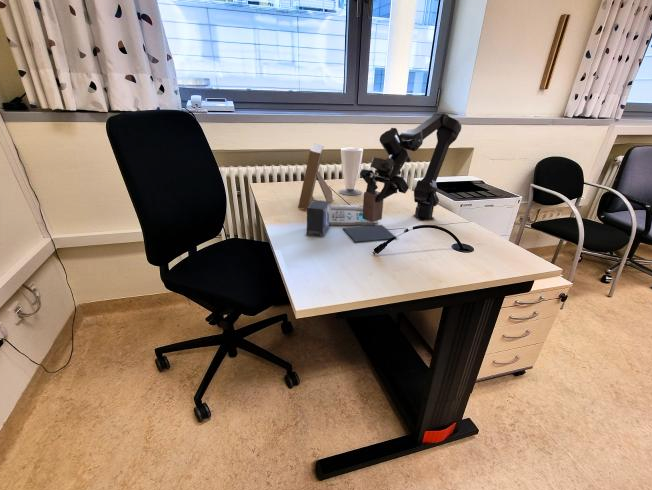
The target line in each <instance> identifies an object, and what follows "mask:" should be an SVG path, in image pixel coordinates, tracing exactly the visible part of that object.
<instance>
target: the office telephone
mask: <svg viewBox="0 0 652 490" xmlns="http://www.w3.org/2000/svg"><path fill="white" fill-rule="evenodd" d="M362 216H363V205H355V204H354V205H350V204H349V205H348V204H347V205H346V204H331V205H329V226H332V225H334V226H356V225H364V226H375V225H378V221H375V222H370V221H368V220H365V219H362Z"/></svg>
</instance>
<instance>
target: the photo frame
mask: <svg viewBox="0 0 652 490" xmlns="http://www.w3.org/2000/svg"><path fill="white" fill-rule="evenodd" d="M323 151H324V145H321V144H317V143H313V145H312V147H311V148H310V150H309V154H308V159H307V163H306V167H305V172H304V178H303V182H302V186H301V192H300V196H299V201H298V202H299V203H298V206H297V208H298V209H302V210H304V211H305V210H306V211H307V207H308V206H309V205H310V204H311V203H312V200H313V195H314V190H315V187H316V182H317V181H318V184H319V186H320V189H321V192H322V194H323V196H324V199H325V201H326V202H329V203H330V202H332V201H333V200H334V197H333V190H332V189H331V188H330V186H329V185H328V184H327V182H326V181H325V179H324V178H323V176H322V175H321V173H319V169H320V164H321V161H322V155H323Z"/></svg>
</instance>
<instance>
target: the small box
mask: <svg viewBox="0 0 652 490" xmlns="http://www.w3.org/2000/svg"><path fill="white" fill-rule="evenodd" d="M329 207H330V201H329V202H327V201H326V200H325V201H324V200H316V199H313V201H311V202H310V205H309V206H308V207H307V210H306V236H313V237H324V235H325V234H326V232H327V231H328V229H329V226H330V225H329Z"/></svg>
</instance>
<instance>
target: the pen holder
mask: <svg viewBox="0 0 652 490" xmlns="http://www.w3.org/2000/svg"><path fill="white" fill-rule="evenodd" d="M380 192H381V191H377V190H375V191H374V190H373V191H368V192H366V191H364V192H363V200H362V206H363V216H362V219H365V220H368V221H370V222H375V221H377V222H378V221H380V220H382V219H383V211H384V209H383V208H384V199H383V200H381V201H380V202H378V203H377V202H376V199H377V197H378V195H379V194H380Z"/></svg>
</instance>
